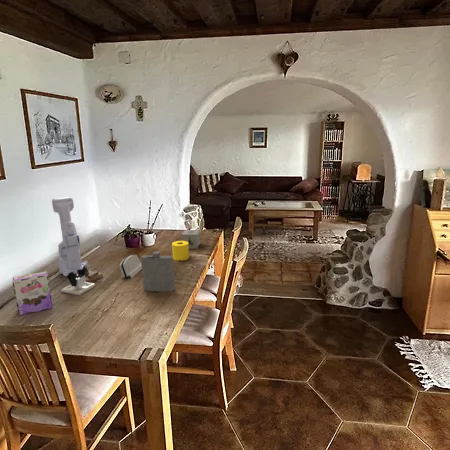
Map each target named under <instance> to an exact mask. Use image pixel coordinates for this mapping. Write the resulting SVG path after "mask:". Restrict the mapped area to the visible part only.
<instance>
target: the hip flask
mask: <svg viewBox="0 0 450 450" xmlns="http://www.w3.org/2000/svg"><path fill="white" fill-rule="evenodd" d="M160 254H161V252H160V251H157V250H156V251H153V252H152V255H150V254H149V255H146V254H144V255H141V256H140V262H141V264H142V269H141V271H142V272H141V275H142V285H143V288H142V289H143V291H146V292H174V291H175V290H176V288H175V285H176V284H175V268H174V267H175V266H174V259H173V255H160ZM173 290H174V291H173Z"/></svg>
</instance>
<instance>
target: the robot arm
mask: <svg viewBox="0 0 450 450" xmlns="http://www.w3.org/2000/svg"><path fill="white" fill-rule="evenodd" d="M51 204H52V209H53V212H54V213H56V214H58V215H59V216H58V217H59V223H60V229H61V235H62V236H61V237H62V240H61V242H59V244H58V245H57V247H58V248H57V249H58V250H57V251H58V256H59V259H58V267H59V268H58V269H59V271H58V274H60V275H61V274H63V276H64V277H66V278H67V279H68V281H69V283H71V285H72V286H74V287H75V286H76V275H77V274H75V273H77V272H78V274H79V275H85V273H86V271H87V268H88V266H89V265H88V264H89V262H88V261H82V258H81V257H82V256H81V251H80V249H81V248H80V246H81V240H80V237H79V233H78V231H77V229H76V224H75V223H74V222H72V218H71V217H72V216H71V212H72V211H73V210H74V208H75V205H74V204H75V203H74V199H73V197H71V196H68V197H59V198H52V200H51Z"/></svg>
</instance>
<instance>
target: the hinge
mask: <svg viewBox="0 0 450 450" xmlns="http://www.w3.org/2000/svg"><path fill="white" fill-rule="evenodd" d="M119 270H120V271H121V275H122V278H127V277H128V278H129V277H130V278H131V279H132V278H134V277H135V276H136V275H137V274H138V273H139V272H140V271H142V264H141V259H140V258H139V257H138V255H137V254H131V255H129V256H127V257H125V258H124V259H122V260H121V261H120V263H119Z"/></svg>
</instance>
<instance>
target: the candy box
mask: <svg viewBox="0 0 450 450" xmlns="http://www.w3.org/2000/svg"><path fill="white" fill-rule="evenodd" d="M12 287H13V291H14V292H13V293H14V299H15V304H16V305H15V306H16V310H17V315H18V316H23V314H24V315H28V314H32V313H36V312H42V311H47V310H52V309H53V300H52V293H51V286H50V280H49V273H48V271H42V272H35V273H29V274H25V275H24V274H23V275H17V276H12Z"/></svg>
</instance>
